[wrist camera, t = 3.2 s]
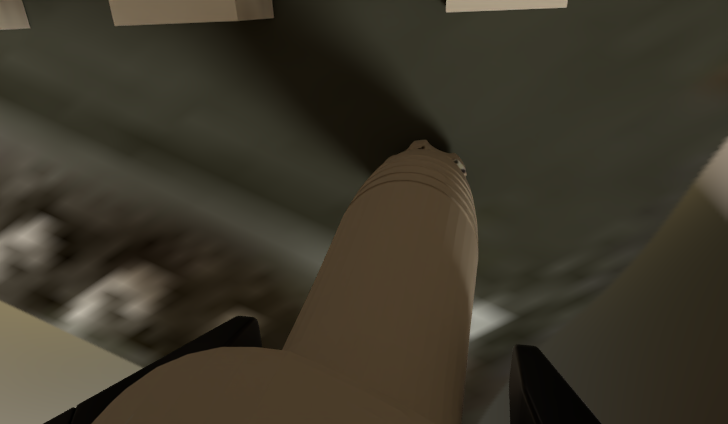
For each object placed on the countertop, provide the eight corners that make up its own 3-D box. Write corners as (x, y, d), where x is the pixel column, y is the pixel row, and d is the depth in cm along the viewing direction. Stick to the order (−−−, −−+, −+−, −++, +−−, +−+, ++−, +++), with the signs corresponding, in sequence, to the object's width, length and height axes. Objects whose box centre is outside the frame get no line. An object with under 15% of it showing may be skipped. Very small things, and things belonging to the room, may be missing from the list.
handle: (433, 71, 17) (264, 363, 3) (523, 213, 18) (669, 828, 5) (330, 143, 18) (-45, 511, 5) (419, 266, 20) (307, 807, 7)
